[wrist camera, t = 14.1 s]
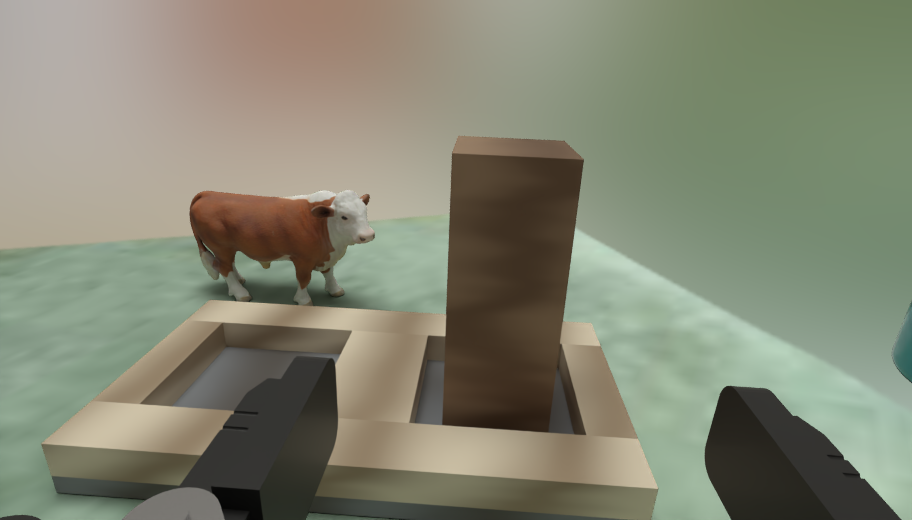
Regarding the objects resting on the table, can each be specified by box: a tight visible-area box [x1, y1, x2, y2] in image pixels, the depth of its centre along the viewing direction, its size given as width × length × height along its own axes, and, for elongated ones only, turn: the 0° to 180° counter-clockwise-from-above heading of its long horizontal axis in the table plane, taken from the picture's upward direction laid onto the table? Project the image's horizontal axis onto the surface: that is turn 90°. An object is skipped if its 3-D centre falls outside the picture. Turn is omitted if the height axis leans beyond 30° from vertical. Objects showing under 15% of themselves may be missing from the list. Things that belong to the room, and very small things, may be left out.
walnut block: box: [442, 136, 584, 433], centre depth 22 cm, size 4×4×12 cm
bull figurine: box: [190, 190, 375, 306], centre depth 34 cm, size 4×13×8 cm, turn 76°
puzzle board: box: [41, 300, 658, 520], centre depth 24 cm, size 22×12×2 cm, turn 87°
